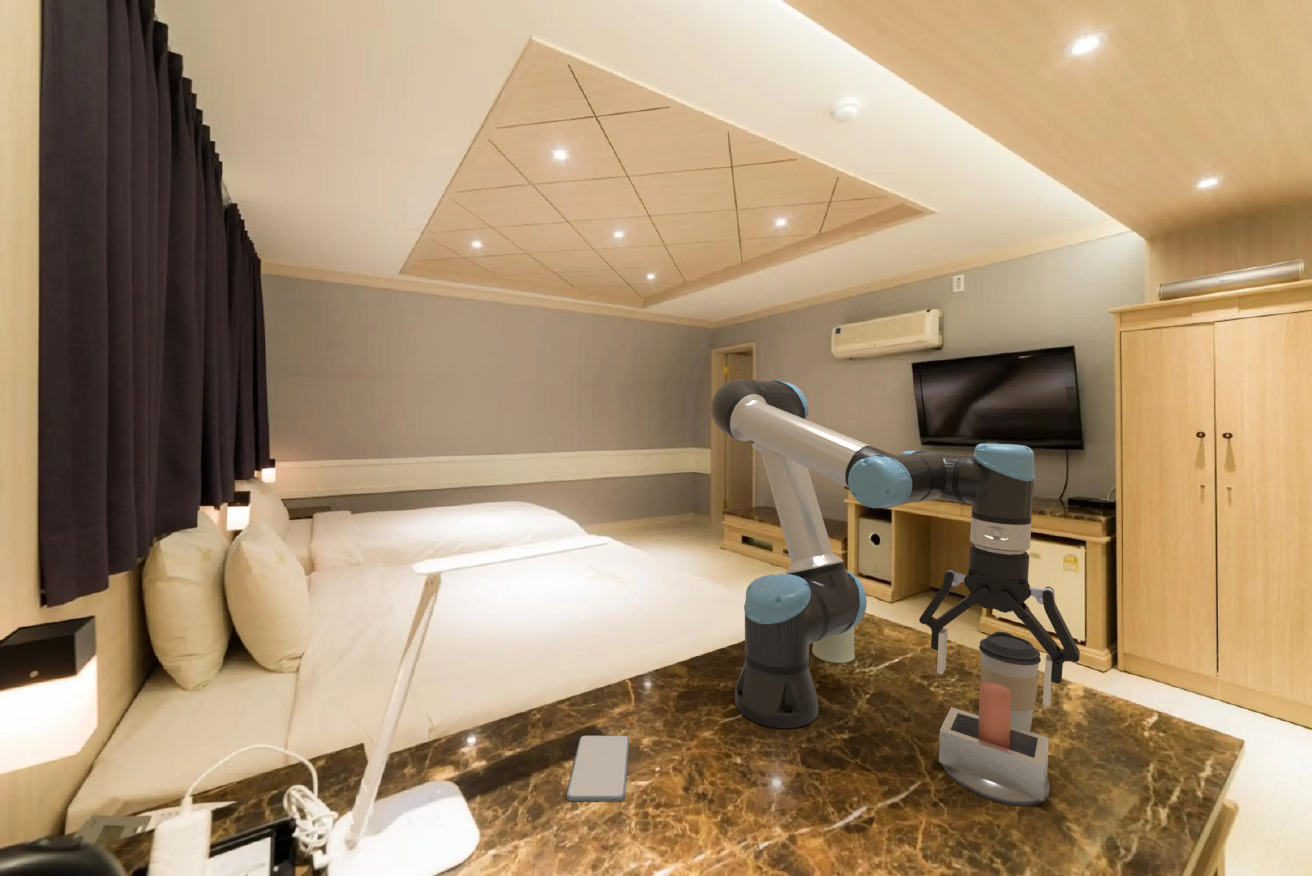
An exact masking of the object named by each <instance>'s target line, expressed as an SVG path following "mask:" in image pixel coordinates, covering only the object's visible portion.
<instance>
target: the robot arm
mask: <svg viewBox="0 0 1312 876" xmlns="http://www.w3.org/2000/svg"><path fill="white" fill-rule="evenodd" d="M712 396H713V397H712V400H711V403H710V415H711V418H712V420H713V422H714V424H715V425H716V427H717V428H718V429H719V430H721V432H723V433H725V434H726V435H728V436H730V437H732V438H734V439H736V440H738V441H741V442H748V441H750V444H751V447H752V448H753V449H754V450H757V451H758V452H759V453H761V457H762V461H763V465H764V468H765V472H766V475H767V479H768V483H769V487H770V490H771V494H772V497H773V502H774V505H775V509H776V513H777V515H778V519H779V522H780V526H781V531H782V533H783V537H784V540H785V544H786V548H787V552H788V555H789V560H790V564H789V566H788V568H787V570H786V572H785V573H778V574H766V575H763V576H760V577H758V578H756V579H754V580H753V581H751V582H750V583H749V584H748V586H747V587H746V592H745V601H744V605H743V610H744V662H743V667H742V668H741V672H740V675H739V676H738V681H737V683H736V686H735V691H734V692H735V693H734V695H735V696H734V698H735V699H734V702H735V707H736V708H737V710H738V712H739V713H740V714H741V715H743V716H744V717H745V718H747V719H748V720H750V721H752V722H754V723H756V724H759V725H762V726H766V727H770V728H775V729H776V728H777V729H794V728H799V727H804V726H807V725H809V724H811V723H813V722H814V721H815V720H816V719H817V716H818V715H819V696H818V693H817V690H816V687H815V684H814V681H813V678H812V674H811V671H810V662H809V661H810V660H809V659H810V645H811V644H813V642H816V641H819V640H822V639H824V638H827V637H830V636H832V635H835V634H842V633H844V632H846V631H848V630H849V629H850V628H853V627H854V628H855V627H856V626H857V625H859V623H861V621H862V620H863V617H864V616H865V614H866V610H867V601H868V600H867V595H866V590H865V587H864V586H863V583H862V581H861V580H860V578H859V577H856V576H855V574H854V573H853V572H851V571H849V570H847V568H846V566H845V562H844V559H842V558H841V557H839V556H838V555H836V554H835V553H834V552H833V548H832V545H831V542H830V537H829V535H828V532H827V528H826V526H825V521H824V519H823V515H822V511H821V508H820V505H819V502H818V498H817V495H816V491H815V488H814V483H813V481H812V477H811V475H810V471H809V470H812V471H814V472H816V473H818V474H820V475H822V476H824V477H825V478H828V479H829V480H831V481H834V482H836V483H838V484H840V485H842V486H844V487H846V488H849V491H850V494H851V495H852V496H853V498H854V499H855V500H856V502H858V503H859V504H860V505H861V506H864V507H867V508H870V509H871V508H872V509H889V508H894V507H898V506H903V505H908V504H912V503H913V504H914V503H919V502H920V503H921V502H926V501H931V500H943V501H951V502H958V503H963V504H970V505H971V521H970V535H969V541H970V542H971V543H972V545H971V546H969V556H968V572H967V573H966V574H964V573H960V572H956V570H955V569H954V568H949V569H948V570H947V571H946V572H945V573H944V577H943V582H942V585H941V586H940V589H939V590H938V591H937V592H936V594H935V596H934V597H933V598H932V600H931V601H930V602H929V604H928V606H927V607H926V608H925V609H924V611H923V612H922V614H921V616H920V617H919V620H918V621H919V623H920V624H922V625H926V626H928V627H929V628H930V629H931V630H930V631H931V638H930V639H931V641H930V642H931V643H930V648H931V649H932V650H934V651H937V664H936V665H937V666H936V674H939V675H944V673H945V671H946V669H947V655H948V654H947V653H948V636H949V635H948V634H949V633H948V632H949V628H947V627H946V626H947V625H948V624H950V623H951V622H952V621H954V620H955V619H956V618H958V617H959V616H961V615H962V614H963V613H964V612H966V611H967V610H968V609H970V608H972V607H973V606H974V605H976V604H978V605H979V606H980V607H982V608H983V609H987V610H996V611H998V612H1000V613H1005V614H1007V613H1011V612H1013V613H1014V614H1015V616H1016V617H1017V618H1018V619H1019V620H1020V621H1021V622H1022V623H1023V624H1024V625H1025V627H1026V628H1027V629H1028V630H1029V632H1030V634H1032V636H1033V637H1034V638H1035V639H1036V641H1037V642H1038V643H1039V644H1040V646H1041V647H1042V649H1044V651H1045V652H1046V656H1045V660H1044V661H1045V662H1044V677H1043V678H1044V679H1043V680H1044V681H1043V692H1042V693H1043V694H1042V706H1046V707H1050V704H1051V697H1052V695H1051V694H1052V683H1054V684H1058V685H1060V684H1061V682H1062V679H1063V665H1064V663H1065V662H1073V663H1078V662H1079V661H1080V656H1081V652H1080V649H1079V647H1078V645H1077V643H1076V641H1075V639H1074V638H1073V637H1074V636H1073V635H1072V634H1071V632H1070V630H1069V627H1068V625H1067V624H1066V622H1065V620H1064V618H1063V616H1062V614H1061V612H1060V609H1059V608H1058V605H1057V604H1056V599H1055V589H1053V587H1051V586H1046V587H1044V588H1042V587H1040V588H1039V587H1031V586H1030V584H1029V570H1030V569H1029V568H1030V566H1029V565H1030V554H1029V553H1028V552H1027V551H1028V550H1030V548H1031V538H1032V537H1031V534H1032V523H1033V522H1032V514H1033V513H1032V512H1033V502H1034V501H1033V500H1034V486H1035V481H1036V475H1035V452H1034V451H1033V449H1032V448H1030V447H1028V446H1027V445H1023V444H1022V445H1021V444H1012V443H1008V444H1007V443H979V444H977V445H976V446H975V448H974V453H973V454H956V453H947V452H946V453H945V452H937V451H936V452H935V451H930V450H905V451H903V452H901V454H893V453H890V452H889V451H888V452H887V451H885V450H882V449H880V448H877V447H875V446H872V445H871V444H868V443H865V442H862V441H860V440H857V439H856V438H853V437H850V436H848V435H846V434H843V433H840V432H838V431H835V430H832V429H830V428H827V427H825V426H823V425H820V424H818V423H815V422H813V421H810V420H809V419H807V417H808V416H809V411H810V410H809V403H808V400H807V398H806V396H805V394H804V393H803V391H802V390H801V389H800V388H799V387H798V386H797V385H795V384H792V382H791V383H790V382H786V381H782V380H778V379H777V380H775V379H773V380H756V379H743V378H741V379H734V380H730V381H727V382H726V383H724V384H722V385H721V386H720V387H719V388H717V390H716V391H715V392H714V394H713V395H712ZM960 583H964V585H965V587H966V588H967V590H968V591H969V594H967V595H966V596H965V597H964V598H962V599H961V600H959V602H957V603H956V604H955V605H953V606H952V607H951V608H950V609H948V610H946V611H945V612H944V613H943V614H941V615H940V616H939V617H937V618H936V617H934V615H935V613H936V611H937V610H938V608H939V607H940V605H941V604H942V603H943V602H944V600H945V599H946V597H947V596H948V594H949V593H950V591H951V590H952V589H953V588H954V587H958V586H959V585H960ZM1030 597H1033V598H1035V599H1036V601H1037V603H1038V604H1040V605H1043V609H1044V612H1045V614H1046V616H1047V617H1048V620H1049V621H1050V624H1051V626H1052V628H1053V630H1054V632H1055V634H1056V636H1057V638H1058V640H1059V642H1060V643H1061V646H1062V648H1061V647H1060V645H1059V644H1058V643H1057V642H1056V641H1055V639H1053V637H1052V636H1051V635H1050V634H1049V632H1048V631H1047V629H1046V628H1044V627H1045V626H1044V625H1042V623H1041V622H1040V621H1039V620H1038V619H1037V617H1036V616H1035V615H1034V614H1033V613H1032V611H1031V609H1030V607H1029V606H1028V605H1027V603H1026V602H1025V601H1027V600H1028V599H1029V598H1030ZM945 627H946V628H945Z"/></svg>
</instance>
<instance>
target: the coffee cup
mask: <svg viewBox="0 0 1312 876" xmlns="http://www.w3.org/2000/svg"><path fill="white" fill-rule="evenodd" d="M978 649H979V652H980V661H979V662H980V665H979V666H980V681H981V683H980V684H982V683H995V684H999V685H1002V686H1004V687H1006V688H1008V689H1009V690H1010V691H1011V720H1010V726H1013V727H1017V728H1020V729H1023V730H1026V731H1030V732H1031V730H1032V723H1033V722H1032V721H1033V716H1034V715H1033V714H1034V709H1035V706H1036V700H1037V693H1038V685H1039V684H1038V683H1039V675H1040V673H1039V667H1040V663H1041V661H1042V658H1041V653H1040V651H1039V650H1038V649H1037V648H1036V647H1034V645H1033V643H1032V642H1031V641H1028V640H1027V639H1025V638H1023V637H1019V636H1014V635H1013V634H1011V633H1009V632H1006V631H995V632H993V633H992V634H988V635H987V636H986V637H985V638H982V639H981V640H980V641H979V646H978Z"/></svg>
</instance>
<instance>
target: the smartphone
mask: <svg viewBox="0 0 1312 876" xmlns="http://www.w3.org/2000/svg"><path fill="white" fill-rule="evenodd" d="M578 740H579V741H578V745H577V748H576V752H575V757H574V762H573V766H572V769H571V774H570V778H569V779H570V780H569V782H568V785H567V791H566V799H567V800H568V802H569V801H570V802H621V801H623V800H624V799H625V797H626V785H627V775H628V760H629V750H630V749H629V747H630V737H628V735H582V736H580V737H579V739H578Z"/></svg>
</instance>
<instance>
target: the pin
mask: <svg viewBox="0 0 1312 876" xmlns="http://www.w3.org/2000/svg"><path fill="white" fill-rule="evenodd" d="M978 701H979V702H978V703H979V704H978V706H979V707H978V716H979V736H978V739H979V740H982V741H985V742H988V743H991V744H994V745H997V746H1000V747H1003V748H1006V749H1009V750H1010V720H1011V691H1010V690H1009V689H1008V688H1006V687H1004V686H1002V685H999V684H995V683H980V684H979V700H978Z"/></svg>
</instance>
